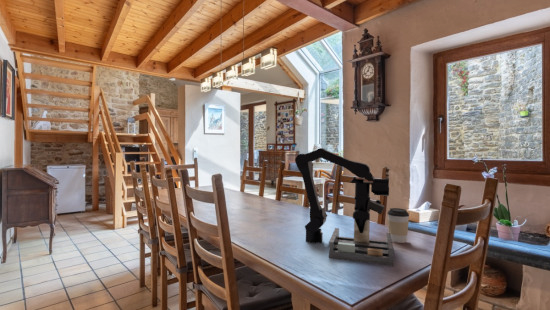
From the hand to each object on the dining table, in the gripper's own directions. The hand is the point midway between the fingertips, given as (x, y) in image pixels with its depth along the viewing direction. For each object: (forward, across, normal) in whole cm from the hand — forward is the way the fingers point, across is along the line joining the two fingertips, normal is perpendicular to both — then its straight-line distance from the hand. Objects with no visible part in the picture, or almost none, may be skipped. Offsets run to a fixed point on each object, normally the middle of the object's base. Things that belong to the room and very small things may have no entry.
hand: (361, 232), depth 121 cm
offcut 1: (+6, -14, +5) cm, 16 cm away
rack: (+7, -7, 0) cm, 10 cm away
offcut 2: (+6, -14, -5) cm, 16 cm away
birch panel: (+4, 0, 0) cm, 4 cm away
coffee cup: (+7, +15, -15) cm, 23 cm away
